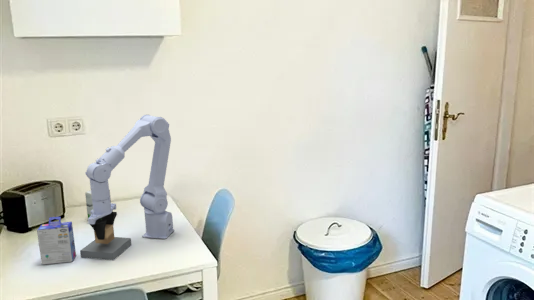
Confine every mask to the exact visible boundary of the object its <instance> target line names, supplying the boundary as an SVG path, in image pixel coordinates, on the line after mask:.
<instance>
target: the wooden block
mask: <svg viewBox="0 0 534 300" xmlns="http://www.w3.org/2000/svg"><path fill="white" fill-rule="evenodd" d="M114 228H115V227H114V224H113V225H108V224H106V225H105V238H104V240H98V238H97V236H96V233H95V231H94V230H93V233H94V240H95V242H96V243H102V244H108V243H109V242H111V241H112V240H113V239H114V238H115V237H116V236H115V229H114Z"/></svg>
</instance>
